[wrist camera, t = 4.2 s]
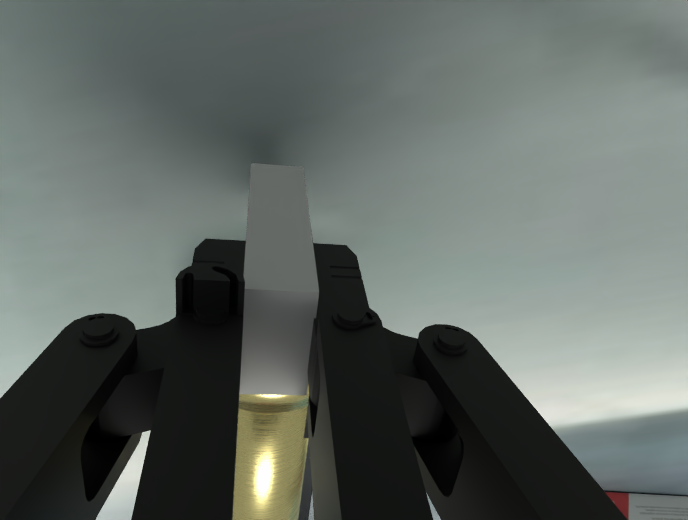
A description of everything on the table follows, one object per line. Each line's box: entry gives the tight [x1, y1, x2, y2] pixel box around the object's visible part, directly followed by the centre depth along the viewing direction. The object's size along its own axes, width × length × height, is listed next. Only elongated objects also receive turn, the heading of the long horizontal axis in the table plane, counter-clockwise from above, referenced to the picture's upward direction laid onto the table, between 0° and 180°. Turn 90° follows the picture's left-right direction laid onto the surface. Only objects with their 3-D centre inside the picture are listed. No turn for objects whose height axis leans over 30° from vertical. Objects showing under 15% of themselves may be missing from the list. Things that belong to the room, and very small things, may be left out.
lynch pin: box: [233, 385, 309, 520], centre depth 23 cm, size 15×5×5 cm, turn 173°
